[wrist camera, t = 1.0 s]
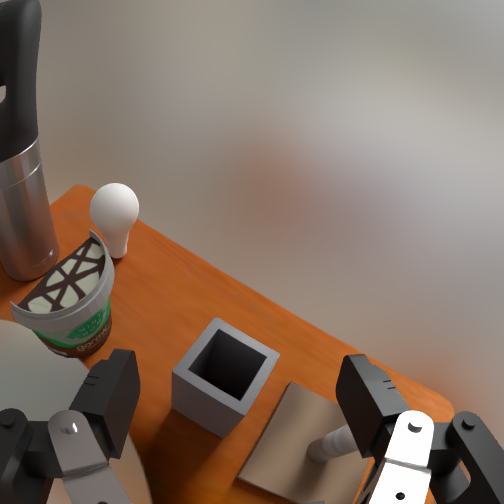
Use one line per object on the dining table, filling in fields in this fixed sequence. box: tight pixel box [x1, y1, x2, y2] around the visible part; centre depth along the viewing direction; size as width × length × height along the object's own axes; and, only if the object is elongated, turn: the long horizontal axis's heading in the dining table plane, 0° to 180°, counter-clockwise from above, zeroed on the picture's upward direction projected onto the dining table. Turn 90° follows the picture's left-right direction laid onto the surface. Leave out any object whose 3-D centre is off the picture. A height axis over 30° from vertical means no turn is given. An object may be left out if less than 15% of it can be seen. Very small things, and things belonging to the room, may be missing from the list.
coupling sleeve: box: [172, 317, 280, 439], centre depth 25 cm, size 6×6×10 cm
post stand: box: [236, 381, 370, 504], centre depth 23 cm, size 12×12×8 cm
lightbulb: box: [90, 183, 139, 258], centre depth 35 cm, size 6×6×11 cm
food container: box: [10, 229, 114, 358], centre depth 26 cm, size 12×6×10 cm, turn 158°
